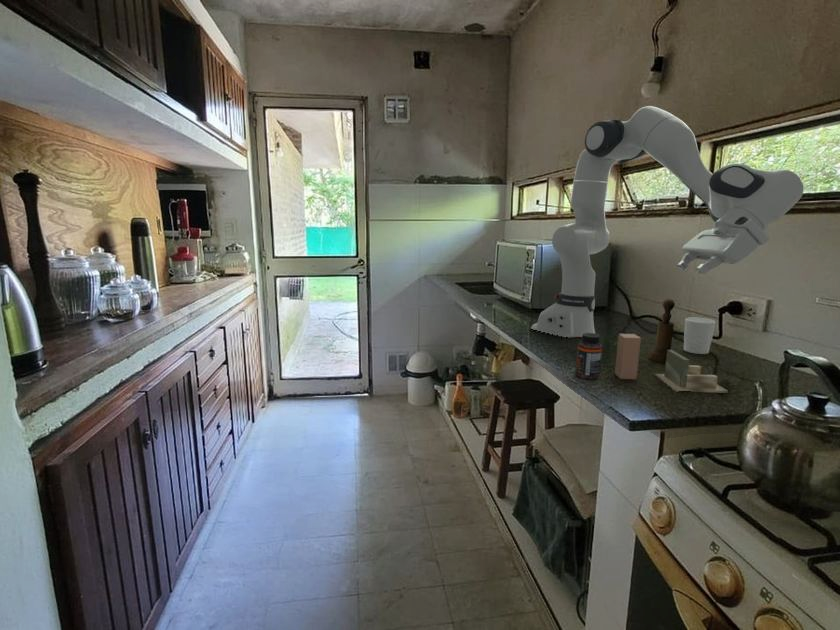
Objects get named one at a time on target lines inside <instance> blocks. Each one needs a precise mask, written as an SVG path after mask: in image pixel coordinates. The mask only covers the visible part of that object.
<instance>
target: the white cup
mask: <svg viewBox="0 0 840 630" xmlns="http://www.w3.org/2000/svg"><path fill="white" fill-rule="evenodd" d="M715 325H716V321H715V320H714V319H710V318H703V317H695V316H694V317H691V316H690V317H686V318H685V321H684V329H683V331H684V333H683V335H684V336H683V351H685V352H686V353H691V354H694V355H695V354H697V355H708V354H709V352H710V347H711V344H712V341H713V337H714V332H715Z"/></svg>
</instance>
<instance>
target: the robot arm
mask: <svg viewBox="0 0 840 630" xmlns="http://www.w3.org/2000/svg"><path fill="white" fill-rule="evenodd" d="M584 147H585V149H584V150H582V152H581V153H580V154H579V157H578V158H579V159H578V160H577V164H576V168H575V172H574V176H573V183H572V190H571V191H572V192H571V197H570V207H571V208H572V210H573V213H574V218H575V222H574V223H569V224H565V225H562V226H560V227H558V228H557V229H556V230H554V232H553V235H552V239H551V243H552V248H553V249H554V251H555V252H556V253H557V255H558V257H559V261H560V265H561V266H560V267H561V273H562V274H561V275H562V277H561V278H562V279H561V292H559V293H558V294H556V295H555V296H554V300H555V302H554V303H553V304H551V305H550V306H548V307H547V308H545V309H544V310H542V311H541V312H540V314H539V316H538V320H537V322H536V323H533V324H532V325H531V327H530V330H531V329H533V330H537V331H536V332H538V331H541V332H540V333H543V332H545V333H544V334H547V333H549V335H552V334H553V336H557V335H558V336H557V337H561V336H562V338H566V337H568V339H569V338H582V336H583V334H584V333H594V334H596V331H595V329H596V328H595V325H594V323H595V322H594V310H595V304H596V295H595V286H596V276H597V274H596V272H595V270H594V269H593V267H592V263H591V258H590V257H591V256H590V255H595V254H597V253H598V254H599V253H600V252H602V251H604V250H605V249H606V248H607V247H608V246H609V243H610V240H611V234H610V232H609V230H608V228H607V223H606V209H605V208H606V201H607V194H608V186H609V181H610V180H609V179H610V174H611V169H612V167H613V166H614V165H615V164H616V163H618V164H620V165H622V164H624V163H627V162H630V161H633V160H634V161H635V160H638V159H639V158H641V157H643V156H644V155H645V154H648V155H649V156H650V157H651V158H653V159H654V160H655V161H656V162H658V163H659V164H661V165H662V166H663V167H664V168H665V169H667V170H668V171H669V172H670V173H671V174H673V175H674V176H675V177H676V178H677V179H678V180H679V181H680V182H681V183H682V184H683V185H684V186H685V187H686V188H688V190H689V191H691V192H692V193H693V194H694V196H696V197H697V198H698V199H699V200H701V202H702V203H703V204H705V206H706V208H707V209H708V213H709V215H710V218H711V220H712V221H713V222H714V227H715V228H712V229H706V230H703V231H701V232H699V233H698V234H697V235H695V236H694V237H692V238H691V239H690V240H689V241H688V242H686V243H685V244H684V245H683V247H682V248H681V251H682V252H683V253H684V255H683V256H682V258H681V260H680V261H679V262H678V263H677V264H676V267H677V269H679V270H681V271H685V270H686V269H687V268H688V267H689V264H690V263H691V262H693V261H694V260H700V261H706V262H704V263H701V264H699V266H697V267H696V271H697V272H698V274H702V275H706V273H708V272H709V271H710V270H714V268H717V267H718V266H720V265H721V264H728V265H734V264H737V263H739V262H740V261H742V260H744V259H745V258H747V257H748V256H749V255H750V254H752V253H753V252H754V251H755V250H757V248H759V246H762V245H765V244H766V243H767V242H769V239H770V238H769V236H767V234H766V233H765V231H766V230H767V228H768V227H769V226H770V225H771V224H772V223H774V222H777V221H778V220H780V219H781V218H782V217H783V216H784V215H786V213H787V212H789V211H790V210H791V209H792V208H793V207H794V206H795V205H796V204H797V203H798V202H799V201H800V199H801V198H802V196H803V194H804V184H803V182H802V180H801V178H800V177H799V176H798V175H797V174H796V173H795V172H793V171H792V170H789V169H785V168H781V169H775V170H768V169H767V170H765V169H758V168H754V167H751V166H749V165H747V164H744V163H731V164H726V165H724V166H722V167H720V168H718V169H717V170H716V171H714V172H713V173H712V172H711V171H710V170H709V169H708V168H707V166H706V165H705V164H704V162H703V160H702V158H701V155H700V151H699V149H698V144H697V139H696V136H695V134H694V132H693V131H692V130H691V128H690V127H689V126H688V125H687V124H686V123H685V122H684V121H683V120H682V119H680V118H679V117H677V116H675V115H674V114H672V113H671V112H668V111H666V110H664V109H662V108H659V107H656V106H652V105H647V106H643V107H641V108H639V109H638V110H636V111H635V112H634V113H633V115H632V116H631V118H630V119H628V120H627V121H622V120H621V119H620V118H616V119H605V120H601V121H596V122H595V123H593V124H592V125H590V127H589V128H588V129H587V132H586V134H585V136H584ZM533 330H532V331H533Z"/></svg>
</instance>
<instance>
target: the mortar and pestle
mask: <svg viewBox="0 0 840 630" xmlns="http://www.w3.org/2000/svg"><path fill="white" fill-rule="evenodd" d="M674 307H675V301H674V299H671V298H669V299H668V298H667V299H664V300H663V302H662V308H663V310H664V313H662V321H658V322H657V323H658V324H657V332H656V343H655V347H653V348H652V349H651V350H650V351H649V359H650V360H652V361H654V362H658V363H662V364H663V363H664V364H666V358H667V350H672V343H673V342H672V341H673V333H674V326H675V323H674V322H671V321H670V320H671V318H672V314H671V312H672V310H673V308H674Z"/></svg>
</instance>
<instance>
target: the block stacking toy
mask: <svg viewBox="0 0 840 630" xmlns="http://www.w3.org/2000/svg"><path fill="white" fill-rule="evenodd" d="M701 371H702V366H700V365H693V364H692V365H691V364H690V359H689V358H687V357H685V356H683V355H682V354H680V353H678V352H677V351H675V350H673V349H671V350H667V358H666V363H665V368H664V373H654V376H655V377H656V378H657V379H659V380H660V381H661V382H662V381H663V382H662V383H664V384H665V383H666V384H667V385H666V384H665V385H666V386H668V387H669V386H670V387H671V388H672V390H673V391H674V390H675V391H674V392H679V391H691V392H690V393H713V394H714V393H720V394H728V393H729V390H728V389H726V388H724V387H723V386H720V385H719V384H718V376H717V375H716V374H701ZM670 387H669V388H670ZM671 388H670V389H671Z"/></svg>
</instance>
